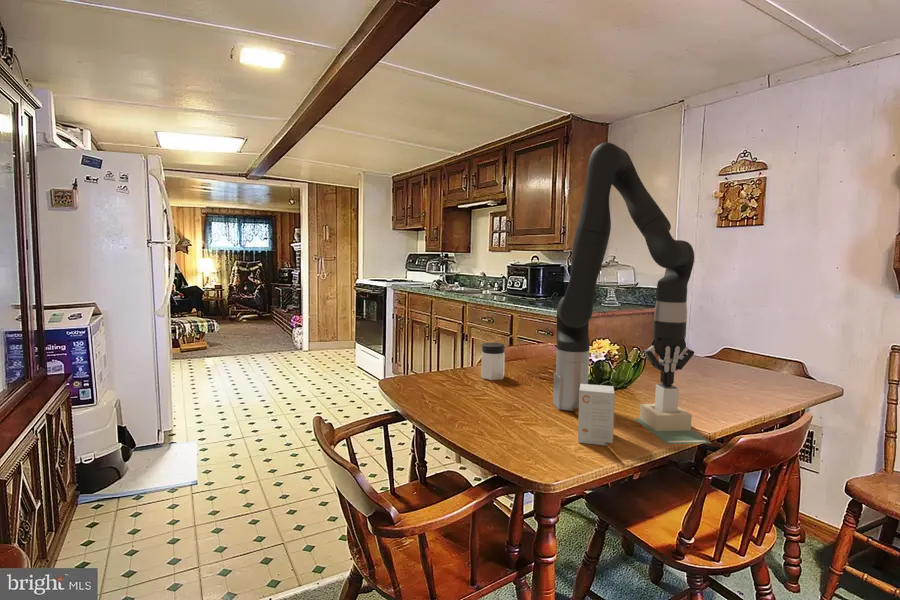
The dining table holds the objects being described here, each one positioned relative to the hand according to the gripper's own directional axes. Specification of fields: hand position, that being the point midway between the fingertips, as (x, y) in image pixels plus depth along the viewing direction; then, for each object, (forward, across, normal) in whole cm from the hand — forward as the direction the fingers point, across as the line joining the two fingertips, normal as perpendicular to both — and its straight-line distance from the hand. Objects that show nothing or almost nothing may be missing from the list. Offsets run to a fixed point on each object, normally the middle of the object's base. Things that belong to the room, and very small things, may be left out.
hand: (666, 385), depth 124 cm
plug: (+10, 0, 0) cm, 10 cm away
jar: (+12, +37, -52) cm, 65 cm away
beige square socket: (+10, 0, 0) cm, 10 cm away
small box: (+12, +21, +7) cm, 25 cm away
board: (+11, 0, +4) cm, 12 cm away
